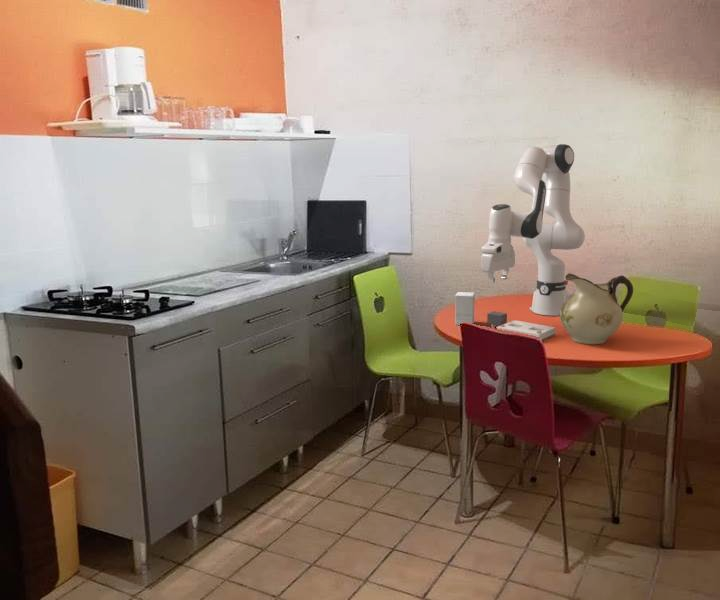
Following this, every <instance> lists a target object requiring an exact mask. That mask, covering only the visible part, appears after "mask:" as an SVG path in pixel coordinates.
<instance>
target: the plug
mask: <svg viewBox="0 0 720 600" xmlns="http://www.w3.org/2000/svg"><path fill="white" fill-rule="evenodd" d="M486 319H487V320H486V323H487V324H491V325H490V326H491V327H494V326H496V327H498V326H500V325H502V324H506V323H508V313H506V312H502V311H491V312H488V313H487V316H486ZM491 327H490V328H491ZM496 327H494V328H496Z"/></svg>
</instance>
